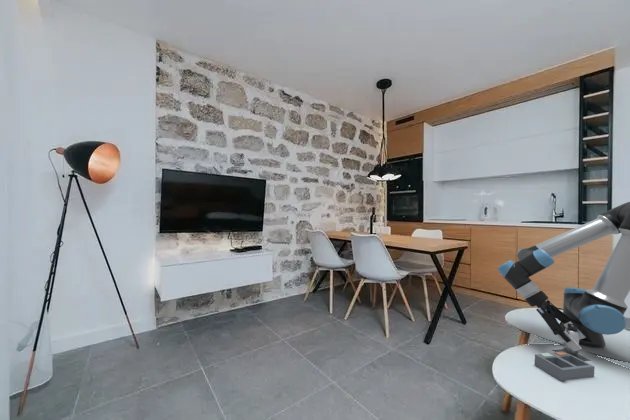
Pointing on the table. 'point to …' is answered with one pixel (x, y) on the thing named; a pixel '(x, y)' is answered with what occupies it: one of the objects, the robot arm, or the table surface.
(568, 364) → the socket block
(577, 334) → the plug
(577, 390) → the table surface
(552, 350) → the plug mat
